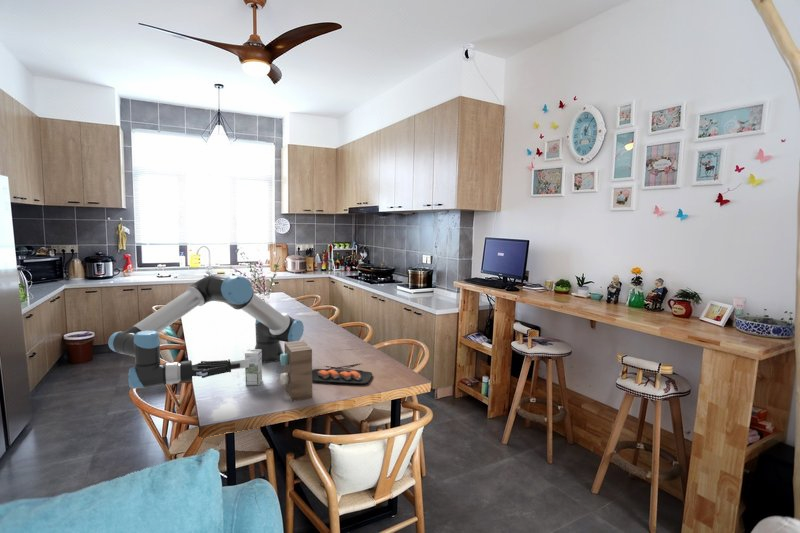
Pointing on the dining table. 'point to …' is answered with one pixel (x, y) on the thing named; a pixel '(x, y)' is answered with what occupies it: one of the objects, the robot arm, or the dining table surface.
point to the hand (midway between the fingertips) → (248, 363)
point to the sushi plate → (341, 375)
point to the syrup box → (253, 367)
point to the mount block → (299, 370)
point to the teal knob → (284, 359)
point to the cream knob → (284, 378)
